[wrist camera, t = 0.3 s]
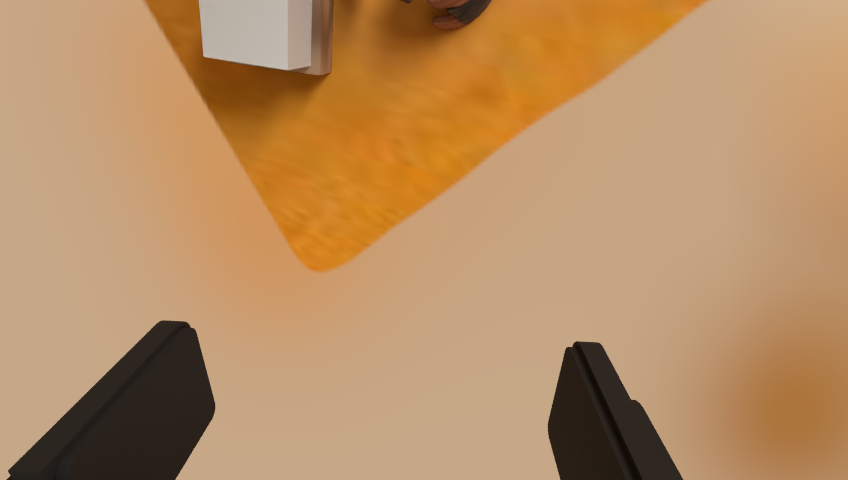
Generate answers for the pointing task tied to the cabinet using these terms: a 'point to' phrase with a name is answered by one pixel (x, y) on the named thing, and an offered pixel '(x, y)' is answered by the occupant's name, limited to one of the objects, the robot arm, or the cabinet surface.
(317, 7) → the tan cardboard-coloured box
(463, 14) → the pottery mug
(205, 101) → the cabinet surface
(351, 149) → the cabinet surface
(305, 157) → the cabinet surface
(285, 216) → the cabinet surface
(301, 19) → the greyblue cube
